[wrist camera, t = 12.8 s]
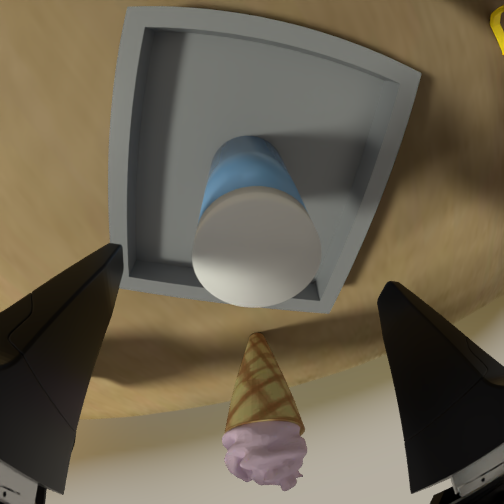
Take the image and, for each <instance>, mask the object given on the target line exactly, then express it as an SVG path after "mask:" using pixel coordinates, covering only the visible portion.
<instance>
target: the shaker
mask: <svg viewBox="0 0 504 504" xmlns="http://www.w3.org/2000/svg"><path fill="white" fill-rule="evenodd" d="M321 252H322V249H321V242H320V239H319V236H318V233H317V231H316V229H315V227H314V224H313V222H312V220H311V218H310V216H309V213H308V211H307V209H306V207H305V205H304V203H303V201H302V199H301V196H300V194H299V192H298V190H297V188H296V186H295V184H294V182H293V180H292V178H291V176H290V174H289V172H288V170H287V168H286V166H285V164H284V162H283V160H282V158H281V156H280V154H279V152H278V151H277V149H276V148H275V147H274V146H273V145H272V144H271V143H269V142H268V141H266V140H264V139H262V138H259V137H256V136H239V137H236V138H233V139H231V140H229V141H227V142H226V143H224V144H223V145H222V146H221V147H220V148H219V149H218V150H217V152H216V153H215V155H214V157H213V159H212V163H211V167H210V171H209V176H208V180H207V184H206V189H205V193H204V197H203V202H202V207H201V211H200V216H199V221H198V225H197V230H196V235H195V240H194V245H193V250H192V263H193V268H194V271H195V274H196V276H197V278H198V280H199V281H200V283H201V284H202V285H203V286H204V288H205V289H206V290H207V291H209V292H210V293H211V294H212V295H214V296H215V297H217V298H218V299H220V300H222V301H224V302H227V303H230V304H233V305H236V306H242V307H252V308H254V307H266V306H271V305H276V304H279V303H282V302H284V301H286V300H288V299H290V298H292V297H294V296H296V295H297V294H298V293H300V292H301V291H302V290H303V289H304V288H305V287H307V285H308V284H309V283H310V282H311V281H312V279H313V278H314V276H315V275H316V273H317V270H318V268H319V265H320V262H321Z"/></svg>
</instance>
